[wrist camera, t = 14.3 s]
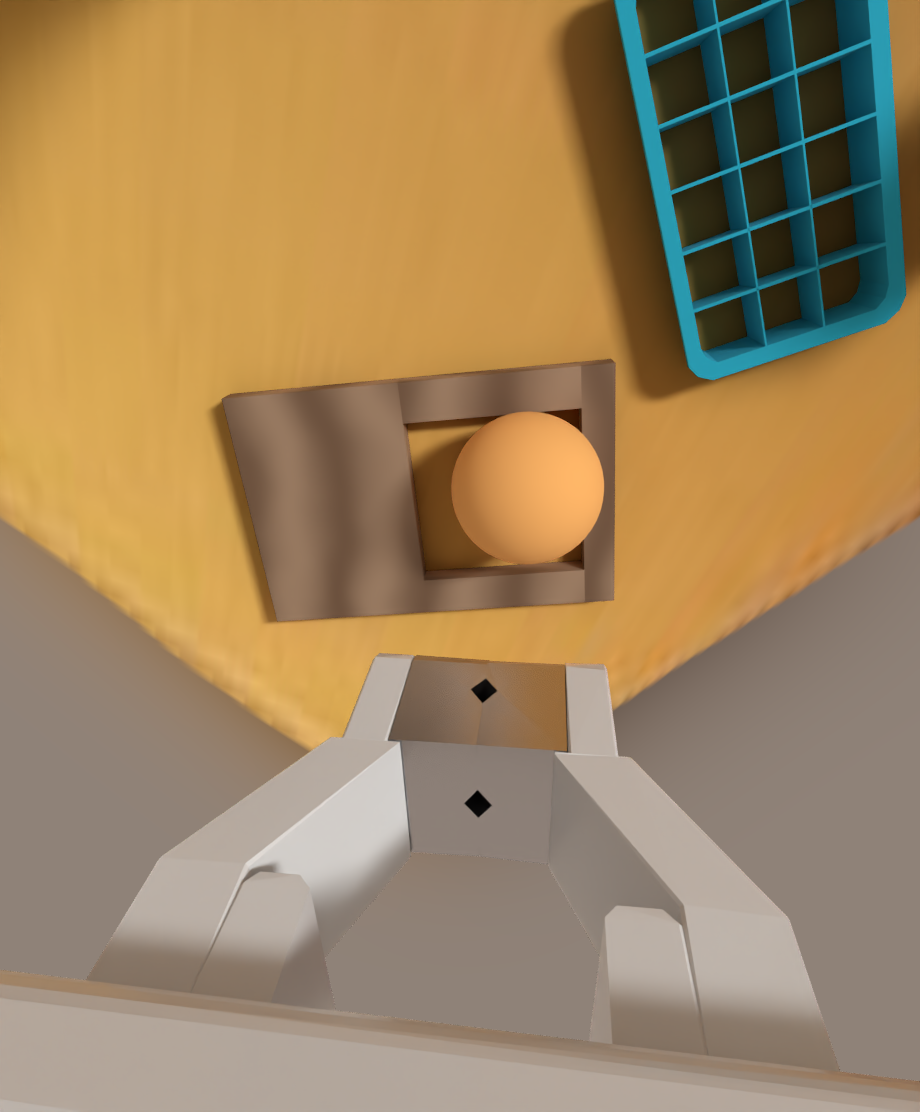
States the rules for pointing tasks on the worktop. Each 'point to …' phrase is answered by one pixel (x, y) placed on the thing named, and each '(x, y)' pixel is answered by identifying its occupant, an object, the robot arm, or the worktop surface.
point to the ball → (527, 487)
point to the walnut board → (400, 491)
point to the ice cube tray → (870, 172)
